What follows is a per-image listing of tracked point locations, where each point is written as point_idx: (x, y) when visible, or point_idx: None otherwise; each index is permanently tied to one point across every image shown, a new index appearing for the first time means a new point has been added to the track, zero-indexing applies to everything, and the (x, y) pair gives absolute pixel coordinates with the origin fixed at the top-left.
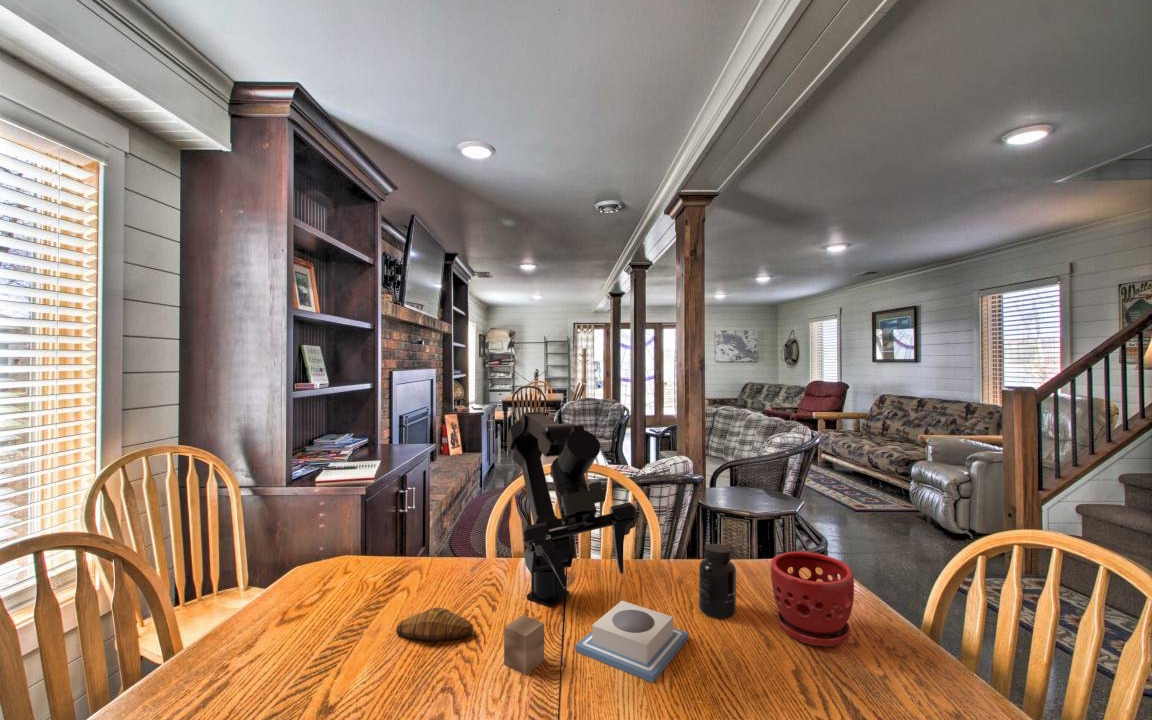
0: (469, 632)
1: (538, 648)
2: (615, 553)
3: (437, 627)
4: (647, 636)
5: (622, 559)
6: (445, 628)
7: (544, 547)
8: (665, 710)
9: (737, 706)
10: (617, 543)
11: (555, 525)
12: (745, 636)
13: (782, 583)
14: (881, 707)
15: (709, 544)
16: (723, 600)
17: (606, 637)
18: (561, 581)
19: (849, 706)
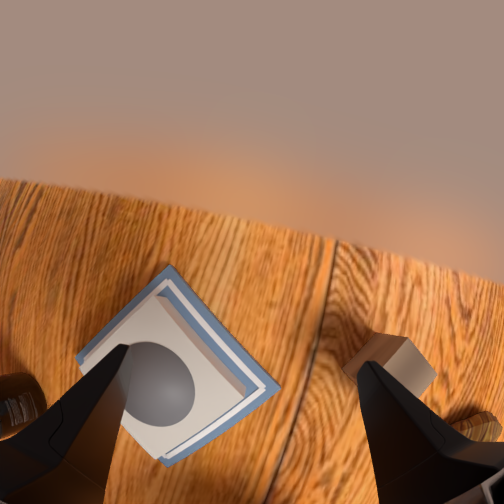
0: None
1: (363, 362)
2: (112, 454)
3: (481, 419)
4: (141, 323)
5: (92, 372)
6: (471, 423)
7: (494, 444)
8: (181, 206)
9: (96, 198)
10: (67, 431)
11: None
12: (23, 327)
13: None
14: (10, 183)
15: None
16: (10, 377)
17: (219, 367)
18: (385, 370)
19: (23, 186)
